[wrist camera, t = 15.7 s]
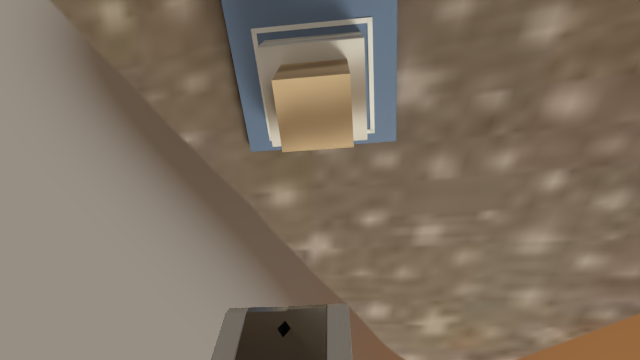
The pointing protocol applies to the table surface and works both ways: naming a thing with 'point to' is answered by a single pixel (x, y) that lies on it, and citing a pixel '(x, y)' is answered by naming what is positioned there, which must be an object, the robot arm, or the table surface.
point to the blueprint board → (310, 20)
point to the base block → (314, 51)
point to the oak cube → (314, 105)
